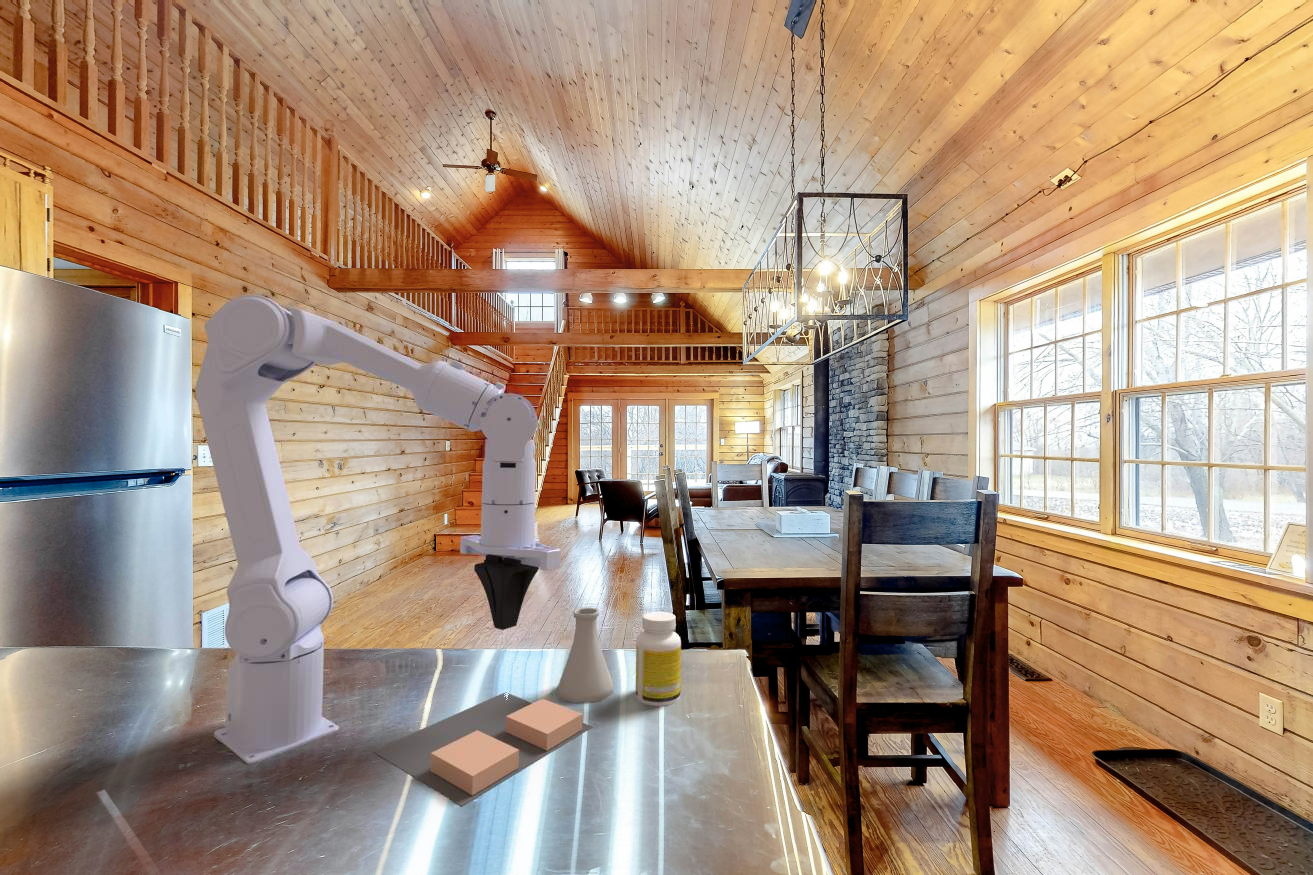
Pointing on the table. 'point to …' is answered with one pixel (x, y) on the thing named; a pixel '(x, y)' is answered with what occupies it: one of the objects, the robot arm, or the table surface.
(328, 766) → the table surface
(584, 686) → the flask
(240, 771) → the table surface
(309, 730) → the robot arm
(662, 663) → the supplement bottle
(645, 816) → the table surface
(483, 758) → the tile
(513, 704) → the mat
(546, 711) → the tile
